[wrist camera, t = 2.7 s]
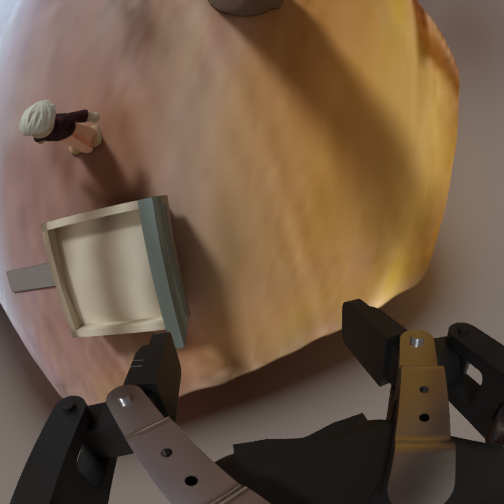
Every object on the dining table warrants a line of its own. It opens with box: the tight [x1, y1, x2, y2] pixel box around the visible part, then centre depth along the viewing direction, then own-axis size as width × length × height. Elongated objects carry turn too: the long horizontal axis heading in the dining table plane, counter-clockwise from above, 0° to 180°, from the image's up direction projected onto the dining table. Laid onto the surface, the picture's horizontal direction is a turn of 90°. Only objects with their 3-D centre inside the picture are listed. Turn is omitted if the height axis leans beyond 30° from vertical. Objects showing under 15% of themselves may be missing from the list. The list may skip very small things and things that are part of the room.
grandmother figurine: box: [20, 100, 102, 155], centre depth 20 cm, size 8×4×13 cm, turn 110°
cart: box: [41, 195, 190, 349], centre depth 25 cm, size 14×13×9 cm
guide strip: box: [6, 263, 55, 292], centre depth 29 cm, size 26×3×1 cm, turn 97°
